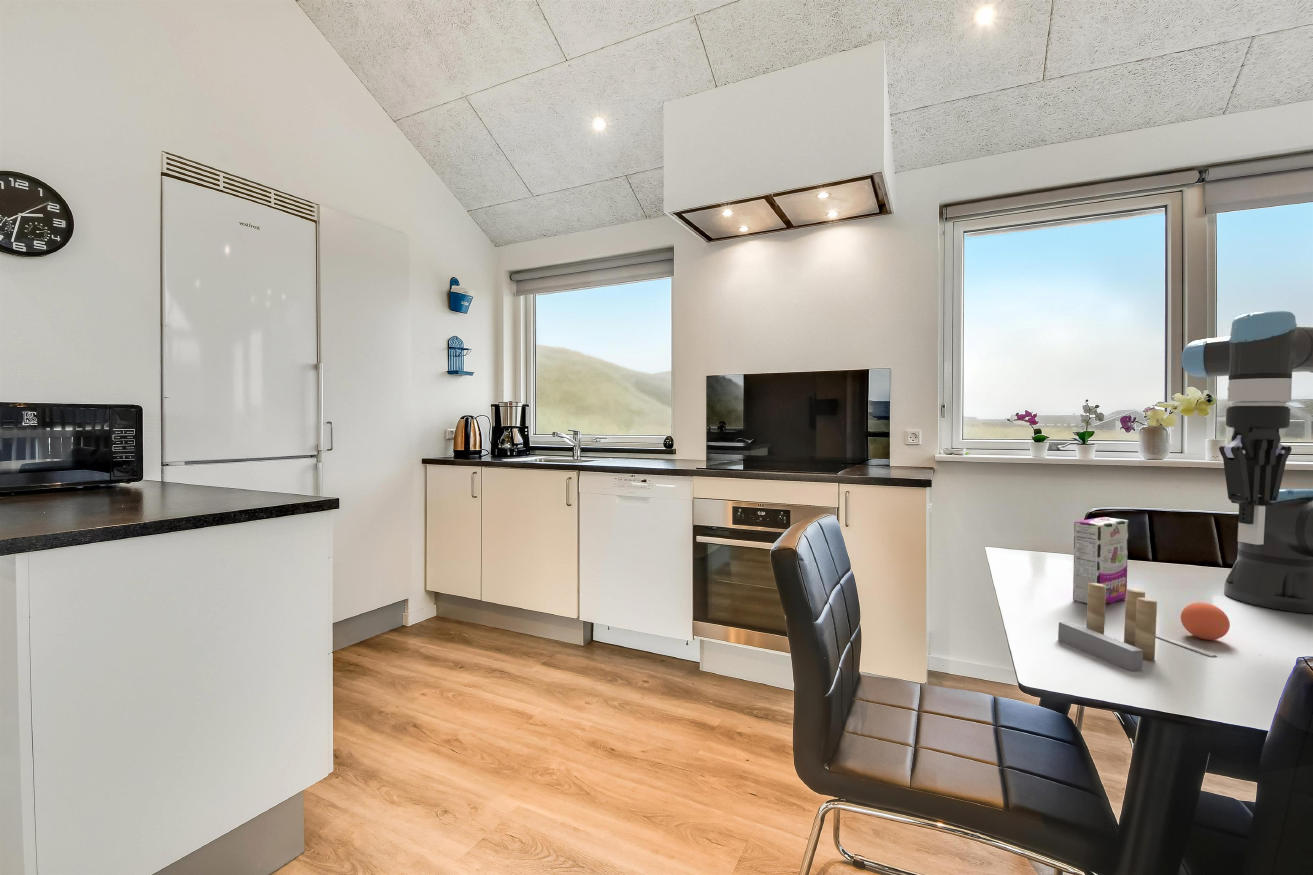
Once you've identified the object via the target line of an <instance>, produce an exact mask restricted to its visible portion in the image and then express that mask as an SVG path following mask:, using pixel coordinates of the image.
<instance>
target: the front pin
mask: <svg viewBox="0 0 1313 875" xmlns="http://www.w3.org/2000/svg"><path fill="white" fill-rule="evenodd" d="M1137 598H1146V591H1143V590H1140V589H1134V588H1127V589H1126V599H1125V604H1124V605H1125V606H1124V609H1125V610H1124V629H1123V630H1124V631H1123V642H1124V643H1126V644H1129V645H1132V646H1134V647H1135V628H1136V605H1137Z"/></svg>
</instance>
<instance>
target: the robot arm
mask: <svg viewBox="0 0 1313 875" xmlns="http://www.w3.org/2000/svg"><path fill="white" fill-rule="evenodd" d="M1295 315H1296V314H1294V313H1293V312H1291V311H1287V310H1286V311H1285V310H1280V311H1279V310H1276V311H1275V310H1273V311H1261V312H1252V313H1247V314H1241V315H1238V316H1237V317H1235V318H1234V319H1233V321H1232V322H1231V328H1230V336H1223V337H1222V336H1221V337H1213V338H1212V337H1208V338H1204V339H1198V340H1194V341H1192V342H1190V343H1188V344H1187V345H1186V346H1185V347H1184V349H1183V350H1182V353H1181V366H1182V368H1183V370H1184V371H1185V373H1187V374H1188V375H1189V376H1192V377H1196V378H1203V377H1205V378H1215V377H1216V378H1217V377H1228V385H1227V386H1228V387H1227V397H1226V398H1227V399H1226V400H1227V401H1226V402H1227V403H1229V404H1231V406H1228V407H1227V408H1226V411H1225V412H1226V414H1225V426H1226V427H1227V428H1233V429H1234V430H1233V433H1232V436H1231V442H1230V443H1229V444H1228V445H1225V444H1224V445H1220V446H1219V448H1218V451H1219V453H1220V455H1221V457H1222V459H1223V460H1222V461H1223V467H1224V469H1223V470H1224V476H1225V484H1226V491H1227V498H1228V500H1229V501H1230V502H1231V503H1232V504H1236V505H1237V504H1238V518H1237V519H1238V523H1237V524H1238V525H1237V527H1238V528H1237V558H1236V560H1235V562H1234V564H1233V566H1232V568H1231V570H1230V572H1229V574H1228V575H1227V577H1226V579H1225V581H1224V584H1223V587H1224V588H1223V593H1224V595H1225V596H1227V597H1229V598H1231V599H1234V600H1237V601H1240V602H1243V603H1245V604H1251V605H1254V606H1259V607H1263V608H1269V609H1272V610H1273V609H1274V610H1278V611H1286V612H1293V613H1301V614H1302V613H1303V614H1313V488H1312V489H1311V488H1309V489H1308V488H1303V489H1302V488H1301V489H1299V488H1298V489H1297V488H1294V489H1293V488H1292V489H1291V488H1290V489H1288V488H1285V489H1284V488H1283V489H1281V486H1282V485H1281V484H1282V480H1283V476H1284V472H1285V469H1286V464H1287V460H1288V458H1289V456H1290V454H1291V452H1292V450H1293V449H1292V446H1290V445H1283V444H1282V443H1281V436H1280V435H1281V434H1280V429H1288V428H1289V426H1290V424H1291V423H1290V422H1291V421H1290V420H1291V408H1289V406H1287V404H1289V403H1291V402H1292V391H1293V390H1292V384H1293V373H1300V372H1301V373H1303V372H1304V373H1305V372H1306V373H1307V372H1308V373H1313V327H1312V326H1311V327H1309V326H1298V324H1297V321H1296V316H1295Z"/></svg>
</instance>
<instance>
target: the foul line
mask: <svg viewBox="0 0 1313 875" xmlns="http://www.w3.org/2000/svg"><path fill="white" fill-rule="evenodd" d="M1156 638H1157V639H1160V640H1162V641H1166V642H1168V643H1170V644H1173V645H1176V646H1179V647H1181V648H1185V649H1188V650H1190V651H1193V652H1196V653H1198V654H1202V655H1204V656H1206V657H1210V658H1212V657H1213V658H1214V657H1217V654H1215V653H1212V652H1208V651H1207V650H1204V649H1201V648H1198V647H1194V646H1192V645H1190V644H1186V643H1184V642H1180V641H1178V640H1175V639H1172V638H1170V637H1166V636H1164V635H1160V634H1158V633H1156Z"/></svg>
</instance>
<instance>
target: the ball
mask: <svg viewBox="0 0 1313 875" xmlns="http://www.w3.org/2000/svg"><path fill="white" fill-rule="evenodd" d="M1180 613H1181V614H1180V622H1181V625H1182V626H1183V628H1184V629H1185V630H1186V631H1187V632H1188V633H1189V634H1191V635H1192V636H1194V637H1196V638H1199V639H1200V640H1201V639H1203V640H1210V641H1212V640H1218V639H1222V638H1223V637H1224V636H1226V634H1228V632H1229V630H1230V629H1231V628H1230V627H1231V626H1230V624H1231V623H1230V619H1229V616H1227V614H1226V613H1225V612H1224V611H1223V610H1222V609H1221V608H1219V607H1217V606H1216V605H1213V604H1211V603H1208V602H1193V603H1190V604H1188V605H1186V606H1185V607H1184V608H1183V609H1182V611H1181V612H1180Z"/></svg>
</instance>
